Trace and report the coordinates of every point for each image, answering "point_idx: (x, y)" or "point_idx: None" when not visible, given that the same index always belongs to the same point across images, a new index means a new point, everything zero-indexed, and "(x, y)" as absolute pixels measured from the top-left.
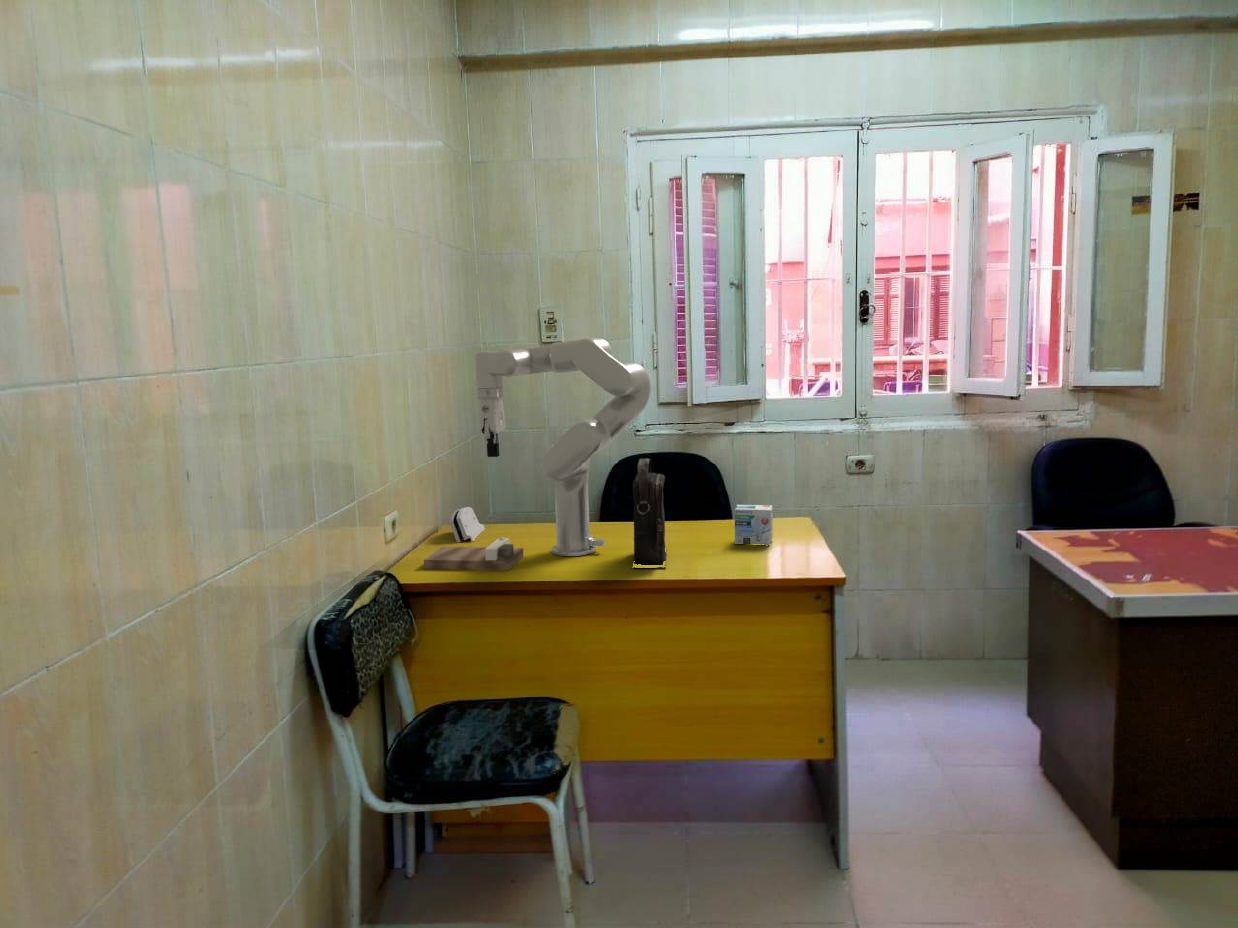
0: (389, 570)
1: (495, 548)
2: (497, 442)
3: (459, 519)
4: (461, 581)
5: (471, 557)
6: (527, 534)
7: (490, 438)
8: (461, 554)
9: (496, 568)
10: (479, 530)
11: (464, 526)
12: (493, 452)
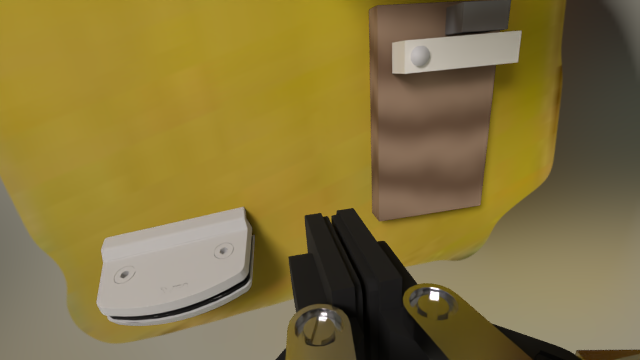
0: (476, 250)
1: (511, 36)
2: (320, 313)
3: (245, 268)
4: (554, 81)
5: (466, 111)
6: (117, 93)
7: (583, 354)
8: (441, 147)
9: None
10: (156, 234)
11: (237, 248)
12: (387, 250)
